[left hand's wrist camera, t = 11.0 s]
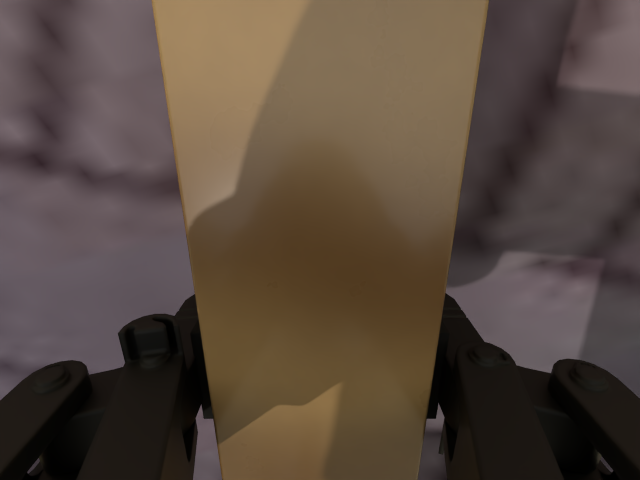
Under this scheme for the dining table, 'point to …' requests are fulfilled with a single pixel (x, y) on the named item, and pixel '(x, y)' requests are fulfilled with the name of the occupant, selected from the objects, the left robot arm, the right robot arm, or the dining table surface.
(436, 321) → the beam
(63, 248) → the dining table surface
